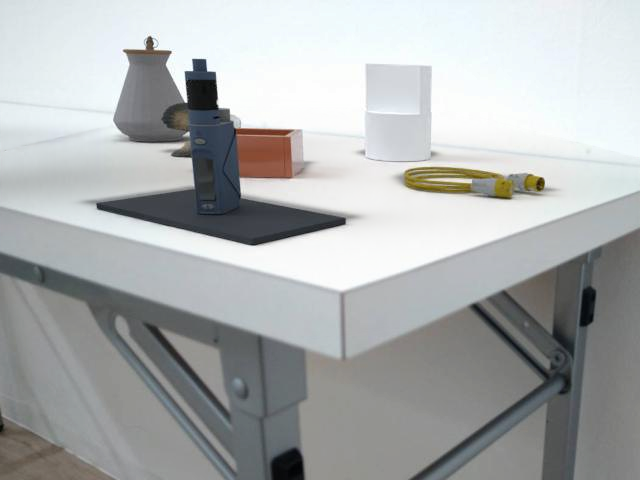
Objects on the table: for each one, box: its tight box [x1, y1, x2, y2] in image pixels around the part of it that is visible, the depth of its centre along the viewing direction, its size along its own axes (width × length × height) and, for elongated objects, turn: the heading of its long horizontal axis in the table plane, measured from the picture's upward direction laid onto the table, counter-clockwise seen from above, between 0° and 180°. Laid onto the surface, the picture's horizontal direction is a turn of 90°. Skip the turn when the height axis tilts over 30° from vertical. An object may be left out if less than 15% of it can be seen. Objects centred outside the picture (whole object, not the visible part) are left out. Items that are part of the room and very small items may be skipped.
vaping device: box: [184, 58, 242, 214], centre depth 61 cm, size 3×5×12 cm, turn 172°
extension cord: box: [403, 166, 546, 199], centre depth 80 cm, size 12×16×2 cm
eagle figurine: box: [161, 101, 242, 157], centre depth 99 cm, size 8×7×9 cm
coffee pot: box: [112, 35, 189, 142], centre depth 116 cm, size 21×12×15 cm, turn 18°
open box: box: [235, 127, 305, 179], centre depth 86 cm, size 10×9×4 cm
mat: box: [95, 188, 347, 246], centre depth 63 cm, size 20×10×1 cm, turn 55°
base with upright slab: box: [364, 63, 433, 162], centre depth 100 cm, size 9×9×12 cm
